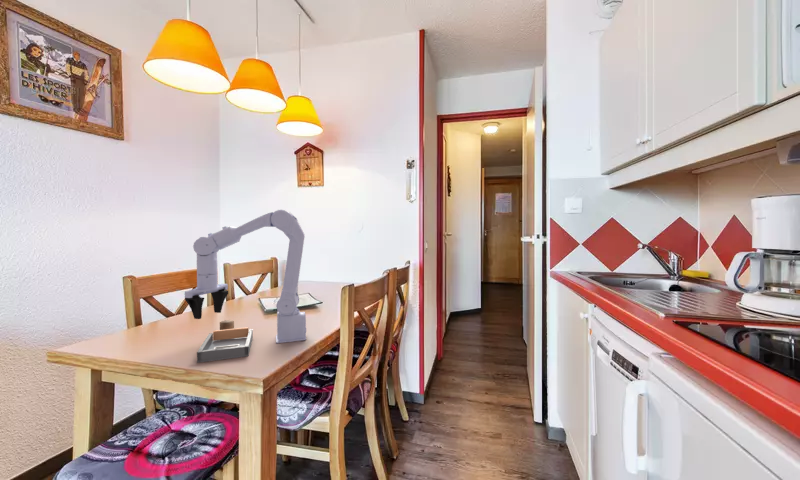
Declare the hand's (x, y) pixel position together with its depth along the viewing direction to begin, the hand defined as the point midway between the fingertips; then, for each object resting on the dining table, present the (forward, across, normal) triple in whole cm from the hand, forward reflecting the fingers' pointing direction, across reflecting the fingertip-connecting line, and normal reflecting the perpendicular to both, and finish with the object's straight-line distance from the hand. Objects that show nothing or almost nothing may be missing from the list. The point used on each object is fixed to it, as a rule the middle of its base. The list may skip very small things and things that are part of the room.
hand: (208, 315), depth 102 cm
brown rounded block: (+9, -8, 0) cm, 12 cm away
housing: (+9, +2, +10) cm, 14 cm away
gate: (+9, -4, +5) cm, 11 cm away
